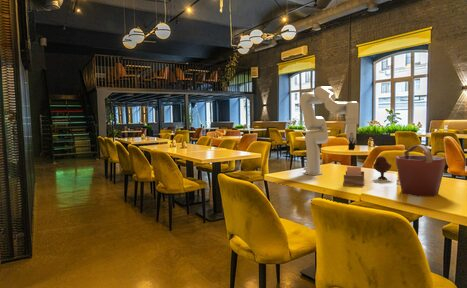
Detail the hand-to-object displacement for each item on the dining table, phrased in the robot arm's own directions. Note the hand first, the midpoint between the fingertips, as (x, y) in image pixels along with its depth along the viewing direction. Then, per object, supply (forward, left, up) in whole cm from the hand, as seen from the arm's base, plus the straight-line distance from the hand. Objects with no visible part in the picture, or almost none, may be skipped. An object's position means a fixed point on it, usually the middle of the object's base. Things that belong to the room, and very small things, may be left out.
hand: (351, 149), depth 201 cm
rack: (+2, -1, -21) cm, 21 cm away
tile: (+2, -1, -20) cm, 20 cm away
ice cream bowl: (+7, +23, -21) cm, 32 cm away
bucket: (+41, -2, -21) cm, 46 cm away
